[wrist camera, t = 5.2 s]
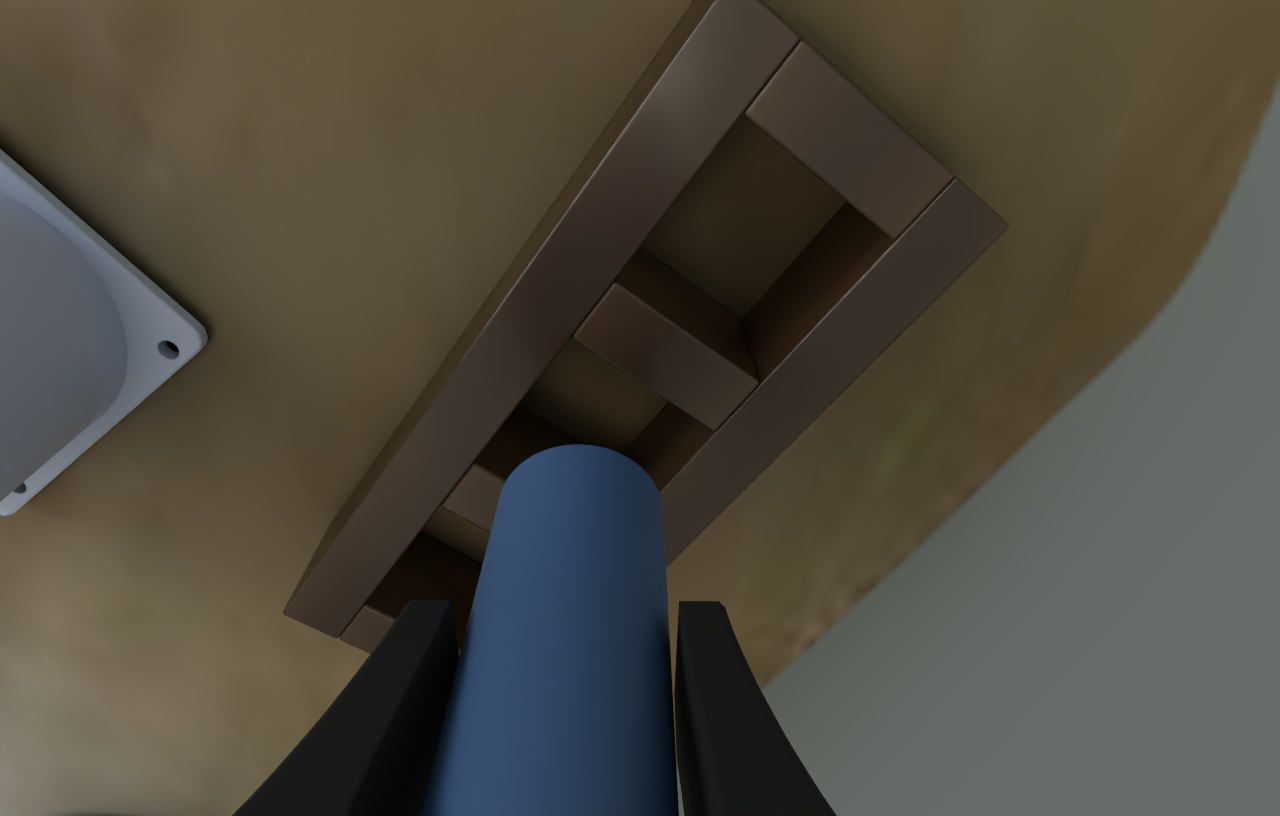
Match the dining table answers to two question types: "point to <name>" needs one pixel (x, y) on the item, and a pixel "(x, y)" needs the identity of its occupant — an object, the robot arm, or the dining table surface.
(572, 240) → the holder
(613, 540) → the capped tube
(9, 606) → the dining table surface
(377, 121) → the dining table surface
